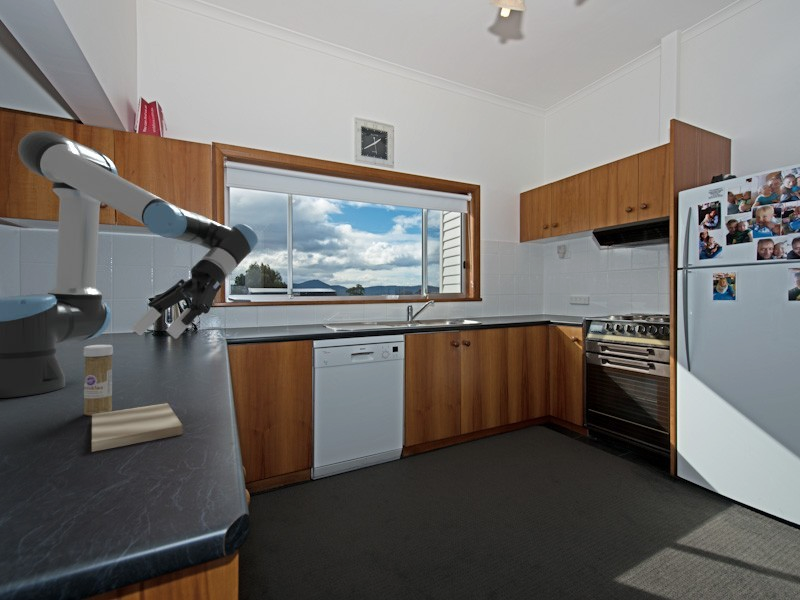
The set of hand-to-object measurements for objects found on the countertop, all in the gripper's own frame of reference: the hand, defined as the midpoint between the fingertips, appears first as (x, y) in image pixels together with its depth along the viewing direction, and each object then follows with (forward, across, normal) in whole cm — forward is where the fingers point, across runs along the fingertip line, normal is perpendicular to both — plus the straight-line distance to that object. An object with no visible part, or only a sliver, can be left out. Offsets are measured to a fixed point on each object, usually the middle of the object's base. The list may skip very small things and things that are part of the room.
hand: (152, 333), depth 85 cm
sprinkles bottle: (+18, 0, -4) cm, 18 cm away
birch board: (+19, -15, -2) cm, 24 cm away
